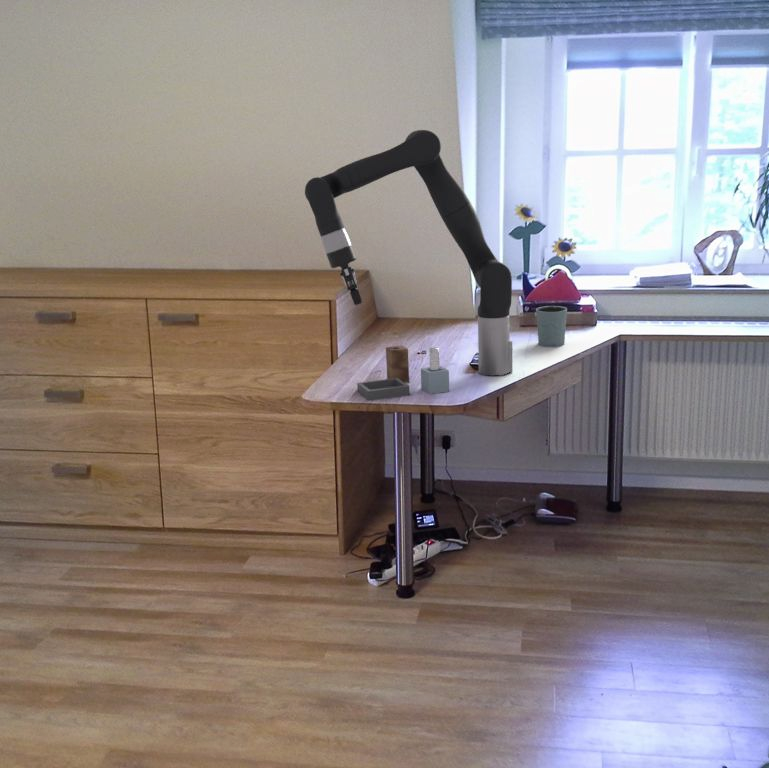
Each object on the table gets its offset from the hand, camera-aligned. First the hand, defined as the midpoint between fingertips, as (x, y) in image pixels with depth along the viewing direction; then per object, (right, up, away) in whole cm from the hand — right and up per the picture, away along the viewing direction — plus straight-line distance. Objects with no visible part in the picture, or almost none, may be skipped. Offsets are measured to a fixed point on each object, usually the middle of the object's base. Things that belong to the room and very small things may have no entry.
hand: (358, 303), depth 259 cm
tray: (+7, -25, -1) cm, 26 cm away
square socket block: (+22, -24, 0) cm, 33 cm away
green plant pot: (+63, -10, +49) cm, 80 cm away
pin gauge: (+22, -24, 0) cm, 33 cm away
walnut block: (+11, -22, +11) cm, 27 cm away
